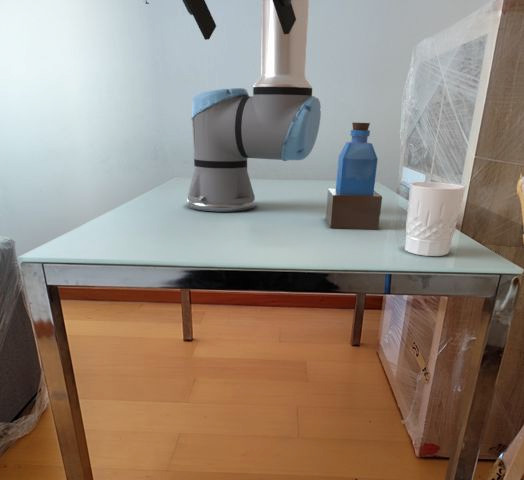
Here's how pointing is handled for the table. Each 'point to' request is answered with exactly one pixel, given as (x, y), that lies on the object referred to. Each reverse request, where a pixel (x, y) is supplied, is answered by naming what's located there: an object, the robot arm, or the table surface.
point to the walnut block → (353, 210)
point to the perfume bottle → (357, 164)
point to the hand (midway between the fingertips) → (248, 30)
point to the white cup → (432, 217)
